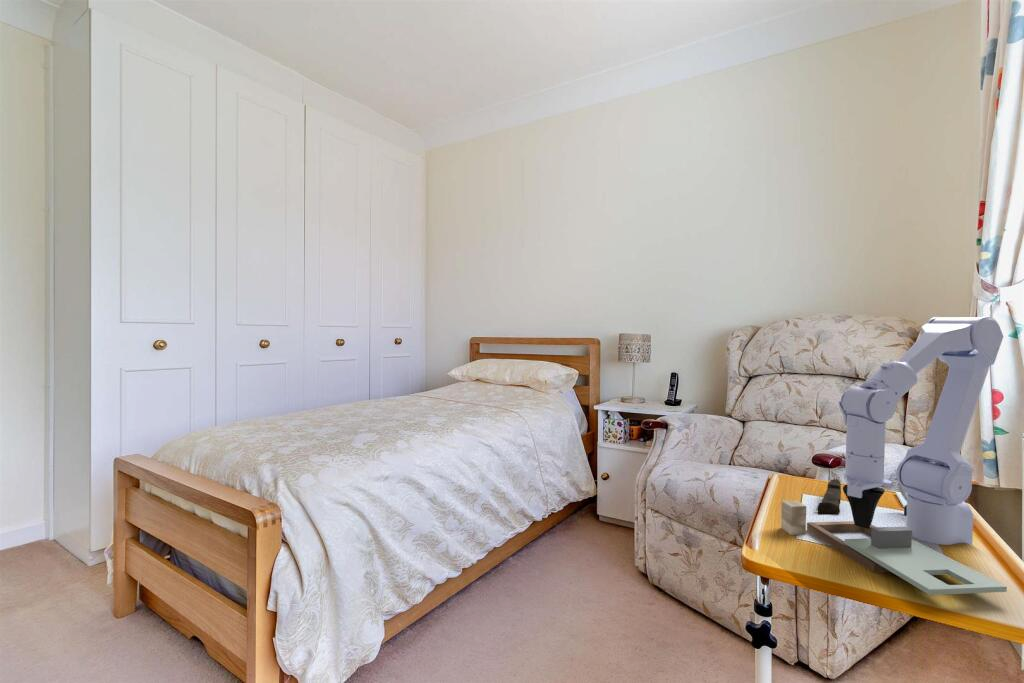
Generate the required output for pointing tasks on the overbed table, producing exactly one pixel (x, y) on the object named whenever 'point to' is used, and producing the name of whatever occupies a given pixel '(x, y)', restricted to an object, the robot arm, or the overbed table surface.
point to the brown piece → (823, 533)
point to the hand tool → (831, 499)
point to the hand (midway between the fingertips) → (862, 526)
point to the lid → (920, 563)
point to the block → (793, 517)
